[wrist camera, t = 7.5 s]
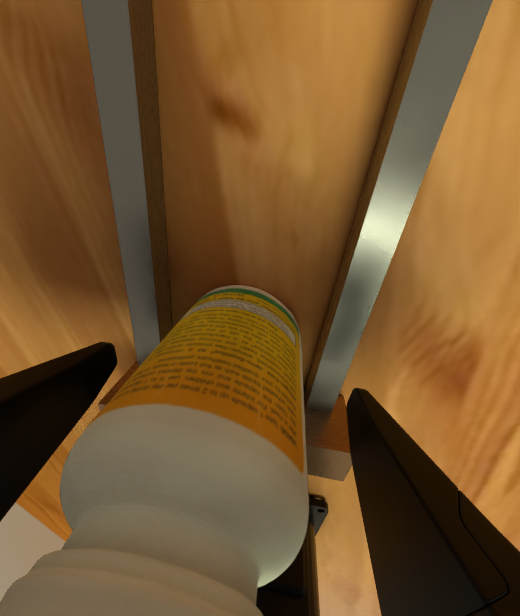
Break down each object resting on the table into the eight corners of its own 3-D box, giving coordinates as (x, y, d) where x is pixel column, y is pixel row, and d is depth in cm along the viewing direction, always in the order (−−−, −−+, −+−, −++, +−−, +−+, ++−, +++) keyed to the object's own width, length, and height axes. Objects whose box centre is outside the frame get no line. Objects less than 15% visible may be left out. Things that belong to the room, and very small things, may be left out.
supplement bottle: (305, 375, 12) (334, 842, 3) (205, 379, 13) (36, 750, 4) (294, 273, 10) (303, 949, 1) (173, 287, 11) (-311, 697, 2)
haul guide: (333, 421, 13) (343, 481, 10) (142, 385, 14) (106, 433, 11) (616, -273, 4) (1151, -1033, 2) (40, -290, 5) (-268, -867, 2)
